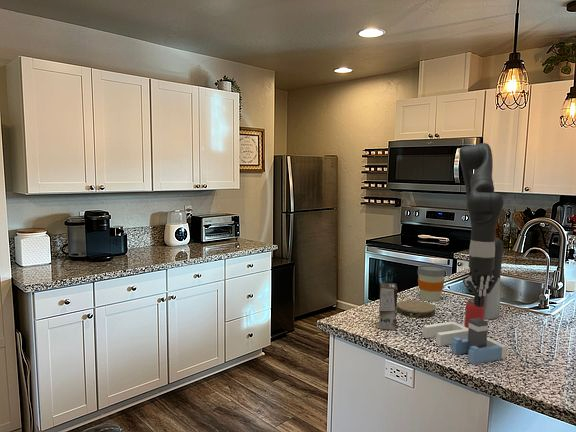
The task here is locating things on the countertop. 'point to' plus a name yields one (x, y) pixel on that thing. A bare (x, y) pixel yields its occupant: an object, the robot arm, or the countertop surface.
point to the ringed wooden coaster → (415, 309)
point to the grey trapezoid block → (477, 333)
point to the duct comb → (464, 342)
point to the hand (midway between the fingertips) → (478, 306)
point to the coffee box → (388, 306)
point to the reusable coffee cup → (430, 282)
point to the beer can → (473, 312)
